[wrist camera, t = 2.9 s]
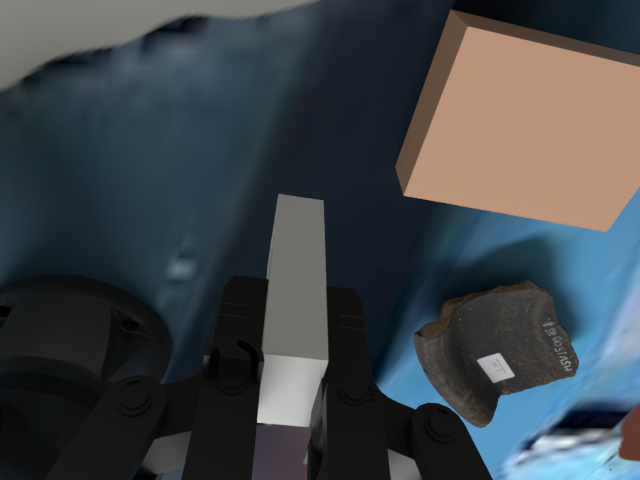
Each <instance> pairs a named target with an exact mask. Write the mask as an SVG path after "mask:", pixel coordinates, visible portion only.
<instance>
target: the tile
mask: <svg viewBox="0 0 640 480" xmlns="http://www.w3.org/2000/svg"><path fill="white" fill-rule="evenodd" d="M395 168H396V171H397V174H398V178H399V181H400V185H401V188H402V192H403V195H404V196H409V197H415V198H420V199H426V200H432V201H437V202H443V203H448V204H454V205H459V206H465V207H471V208H476V209H482V210H487V211H493V212H498V213H504V214H509V215H515V216H521V217H526V218H532V219H537V220H543V221H548V222H554V223H560V224H565V225H571V226H576V227H582V228H587V229H593V230H598V231H604V232H607V231H608V230H609V228H610V227H611V225H612V224H613V223H614V221H615V220H616V218H617V217H618V216H619V214H620V213H621V211H622V210H623V209H624V207H625V206H626V205H627V203H628V202H629V200H630V199H631V198H632V196H633V195H634V193H635V192H636V191H637V189H638V188H639V186H640V55H637V54H633V53H629V52H625V51H621V50H617V49H613V48H608V47H604V46H600V45H596V44H592V43H588V42H584V41H579V40H575V39H571V38H567V37H563V36H559V35H555V34H551V33H546V32H542V31H538V30H534V29H530V28H526V27H522V26H517V25H513V24H509V23H505V22H501V21H497V20H493V19H488V18H484V17H480V16H476V15H472V14H468V13H464V12H460V11H455V10H450V13H449V16H448V19H447V21H446V24H445V27H444V30H443V33H442V36H441V38H440V41H439V44H438V47H437V50H436V53H435V55H434V58H433V61H432V64H431V67H430V70H429V72H428V75H427V78H426V81H425V84H424V87H423V89H422V92H421V95H420V98H419V101H418V104H417V106H416V109H415V112H414V115H413V118H412V121H411V123H410V126H409V129H408V132H407V135H406V138H405V140H404V143H403V146H402V149H401V152H400V155H399V157H398V160H397V163H396V166H395Z"/></svg>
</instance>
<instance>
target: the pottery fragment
mask: <svg viewBox="0 0 640 480" xmlns="http://www.w3.org/2000/svg"><path fill="white" fill-rule="evenodd" d="M414 344H415V349H416V353H417V356H418V359H419V362H420V364H421V366H422V367H423V370H424V372H425V374H426V376H427V377H428V379H429V381H430V382H431V384H432V385H433V386H434V388H435V389H436V390H437V392H438V393H439V394H440V395H441V396H442V397H443V399H444V400H445V401H446V402H447V403H448V404H449V405H450V406H451V407H452V408H453V409H454V410H455V411H456V412H457V413H458V414H459V415H460V416H462V417H463V418H464V419H465V420H466V421H468V422H469V423H471V424H472V425H474V426H476V427H479V428H483V427H486V425H488V424H489V423H490V422H491V421H492V418H493V416H494V412H495V410H496V407H497V403H498V398H499V397H500V396H501V395H508V394H511V393H516V392H520V391H523V390H526V389H530V388H533V387H536V386H541V385H546V384H549V383H551V382H553V381H556V380H559V379H564V378H567V377H573V376H575V374H576V370H577V369H578V366H579V360H578V358H577V355H576V353H575V352H574V349H573V347H572V345H571V342H570V339H569V336H568V334H567V332H566V329H565V328H564V327H563V326H562V325H561V324H560V320H559V318H558V317H557V315H556V308H555V305H554V297H553V296H552V294H551V293H550V291H549V290H548V289H542V288H540V287H537V286H535V285H534V284H533V283H532V282H531V281H528V280H526V281H523V282H520V283H517V284H512V285H510V286H498V287H496V288H495V289H492V290H490V291H484V292H476V293H472V294H468V295H465V296H462V297H458V298H454V299H450V300H447V301H446V302H444V303H443V304H442V306H441V310H440V315H439V317H438V320H437V321H436V322H433V323H427V324H425V325H424V326H423V327H422V329H420V330H419V331H417V332H415V334H414Z"/></svg>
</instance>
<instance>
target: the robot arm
mask: <svg viewBox="0 0 640 480" xmlns="http://www.w3.org/2000/svg"><path fill="white" fill-rule="evenodd" d="M171 355H172V341H171V337H170V334H169V332H168V330H167V328H166V326H165V324H164V323H163V321H162V320H161V319H160V317H159V316H158V315H157V314H156V313H155V312H154V311H153V310H152V309H151V308H150V307H149V306H147V305H146V304H145V303H144V302H142V301H141V300H139V299H138V298H136V297H135V296H133V295H131V294H130V293H128V292H126V291H124V290H122V289H120V288H117V287H115V286H112V285H110V284H107V283H104V282H101V281H98V280H94V279H90V278H85V277H79V276H71V275H44V276H37V277H32V278H28V279H25V280H22V281H19V282H17V283H15V284H13V285H11V286H10V287H8V288H7V289H5V290H4V291H3V292H2V293H1V294H0V480H161V479H162V477H163V474H164V473H165V472H168V471H172V470H176V469H180V468H184V470H183V475H182V479H181V480H251V478H252V468H253V457H254V448H255V437H256V427H257V422H258V423H269V424H280V425H292V426H303V427H309V424H310V420H311V437H310V440H309V443H308V447H307V450H306V453H305V456H304V461H303V464H307V480H493V479H492V477H491V475H490V473H489V471H488V469H487V467H486V465H485V463H484V461H483V460H482V458H481V456H480V454H479V452H478V450H477V448H476V446H475V444H474V442H473V440H472V438H471V436H470V434H469V432H468V430H467V428H466V426H465V424H464V423H463V422H462V420H461V419H460V417H459V416H458V415H457V414H456V413H455V412H453V411H452V410H451V409H450V408H448V407H446V406H443V405H441V404H438V403H426V404H423V405H420V406H419V407H418V408H417V409H416V410H415V409H413V408H410V407H408V406H406V405H403V404H401V403H398V402H396V401H394V400H392V399H390V398H388V397H387V396H386V395H385V394H383V393H382V392H381V391H380V390H379V388H378V387H377V385H376V384H375V382H374V381H373V378H372V375H371V369H370V360H369V352H368V343H367V334H366V326H365V319H364V308H363V302H362V300H361V299H360V297H359V295H358V294H357V292H356V291H355V289H350V288H342V287H334V286H326V266H325V235H324V204H323V201H322V200H315V199H308V198H302V197H295V196H288V195H281V194H279V195H278V201H277V208H276V214H275V221H274V227H273V234H272V240H271V247H270V253H269V261H268V270H267V279H262V278H254V277H246V276H238V275H234V276H233V277H232V278H231V279H230V280H229V282H228V283H227V284H226V285H225V286H224V290H223V295H222V300H221V305H220V309H219V315H218V319H217V324H216V328H215V333H214V338H213V343H212V344H211V345H210V346H208V348H207V350H206V352H205V354H204V364H203V369H202V370H201V371H200V372H199V373H198V374H196V375H195V376H193V377H191V378H189V379H186V380H183V381H179V382H174V383H169V384H164V385H161V383H160V382H161V381H162V379H163V378H164V376H165V374H166V371H167V369H168V366H169V362H170V359H171Z"/></svg>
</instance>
